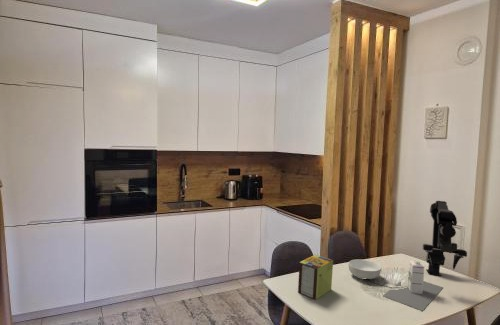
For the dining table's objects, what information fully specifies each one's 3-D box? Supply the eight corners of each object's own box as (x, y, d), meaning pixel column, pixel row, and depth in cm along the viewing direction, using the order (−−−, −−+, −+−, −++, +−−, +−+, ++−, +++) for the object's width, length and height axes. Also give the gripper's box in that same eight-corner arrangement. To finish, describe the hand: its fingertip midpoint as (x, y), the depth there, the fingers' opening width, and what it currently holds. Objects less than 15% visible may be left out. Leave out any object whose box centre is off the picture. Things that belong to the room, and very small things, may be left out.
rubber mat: (407, 276, 182) (407, 275, 182) (442, 287, 170) (443, 287, 170) (382, 296, 158) (382, 295, 158) (422, 311, 146) (422, 310, 146)
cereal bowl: (380, 274, 183) (381, 262, 183) (379, 286, 168) (380, 273, 168) (350, 268, 191) (350, 256, 190) (345, 279, 175) (346, 266, 175)
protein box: (331, 289, 163) (333, 259, 162) (315, 300, 152) (317, 268, 150) (313, 282, 170) (315, 253, 169) (297, 292, 159) (298, 261, 157)
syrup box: (422, 294, 161) (425, 266, 160) (410, 292, 162) (412, 264, 161) (419, 289, 167) (421, 261, 165) (406, 287, 168) (409, 260, 167)
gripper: (425, 234, 160) (423, 266, 159) (470, 240, 153) (468, 274, 151) (423, 232, 170) (421, 262, 169) (465, 238, 163) (463, 270, 162)
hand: (442, 267), depth 162 cm, fingers open, 9 cm apart
